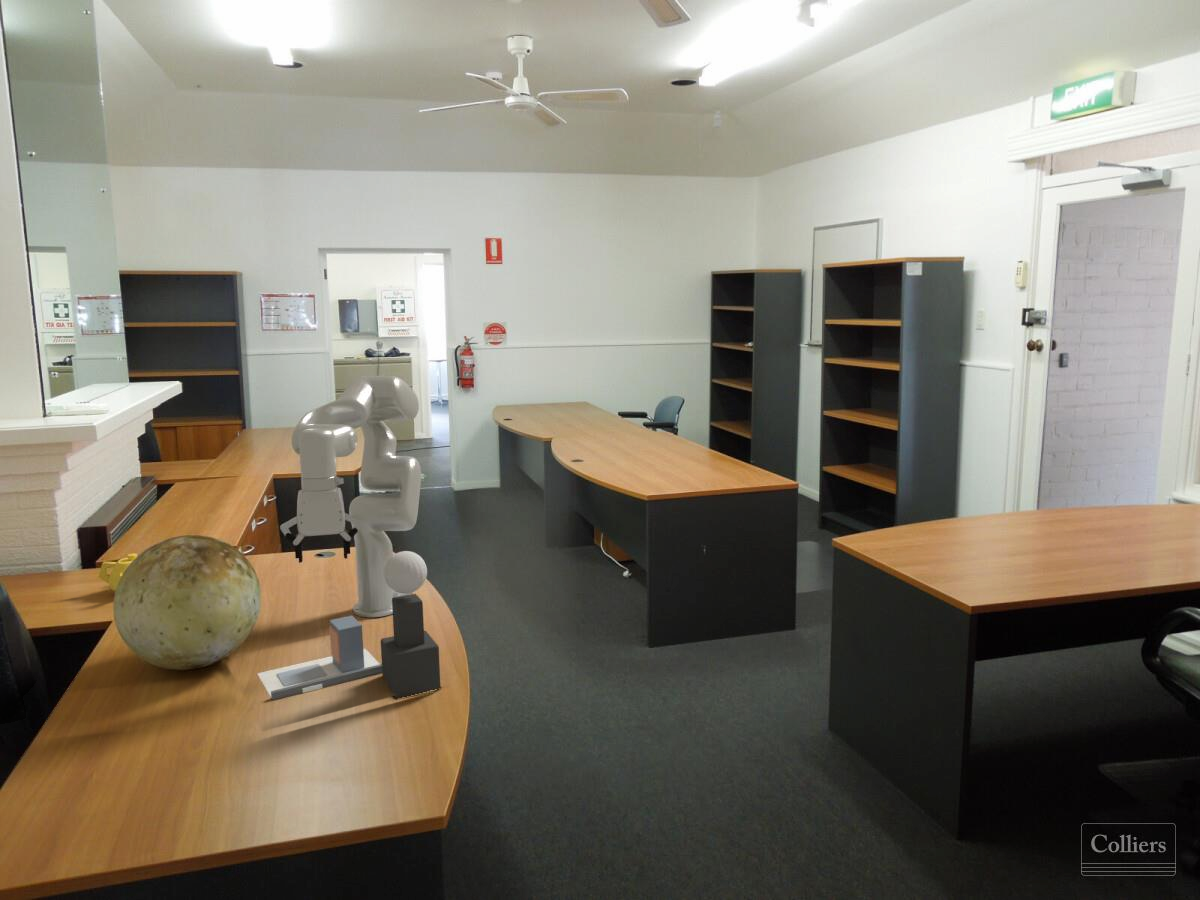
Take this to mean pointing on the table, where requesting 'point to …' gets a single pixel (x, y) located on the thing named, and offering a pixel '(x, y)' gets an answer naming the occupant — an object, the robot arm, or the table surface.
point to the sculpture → (408, 631)
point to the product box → (347, 644)
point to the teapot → (115, 570)
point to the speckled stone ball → (187, 602)
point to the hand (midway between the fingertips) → (323, 559)
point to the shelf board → (313, 676)
